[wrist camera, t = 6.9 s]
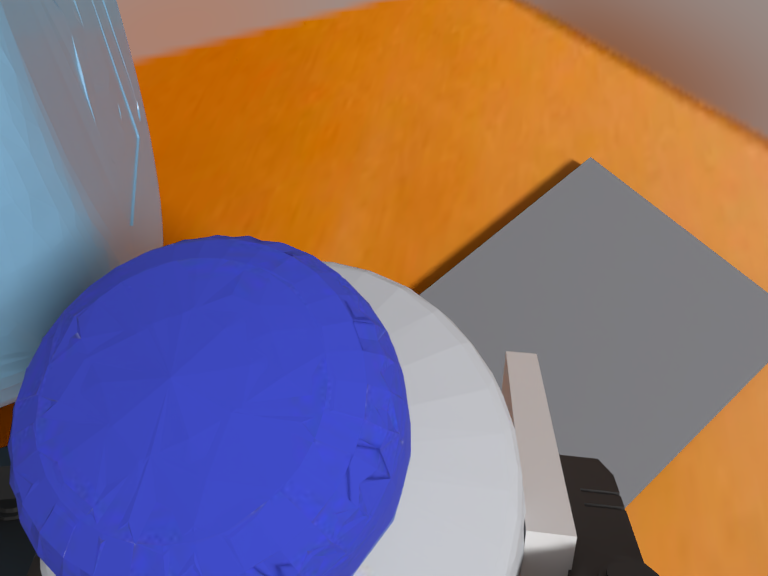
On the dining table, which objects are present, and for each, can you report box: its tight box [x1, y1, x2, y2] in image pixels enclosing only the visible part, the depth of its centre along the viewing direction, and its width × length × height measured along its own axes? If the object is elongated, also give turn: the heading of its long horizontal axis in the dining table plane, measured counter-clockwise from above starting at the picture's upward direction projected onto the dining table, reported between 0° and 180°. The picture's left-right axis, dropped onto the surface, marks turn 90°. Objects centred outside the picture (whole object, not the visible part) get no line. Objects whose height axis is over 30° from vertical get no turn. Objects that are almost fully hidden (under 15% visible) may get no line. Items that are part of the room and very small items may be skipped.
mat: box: [419, 157, 768, 507], centre depth 25 cm, size 11×12×1 cm
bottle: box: [8, 235, 526, 576], centre depth 13 cm, size 7×7×20 cm
